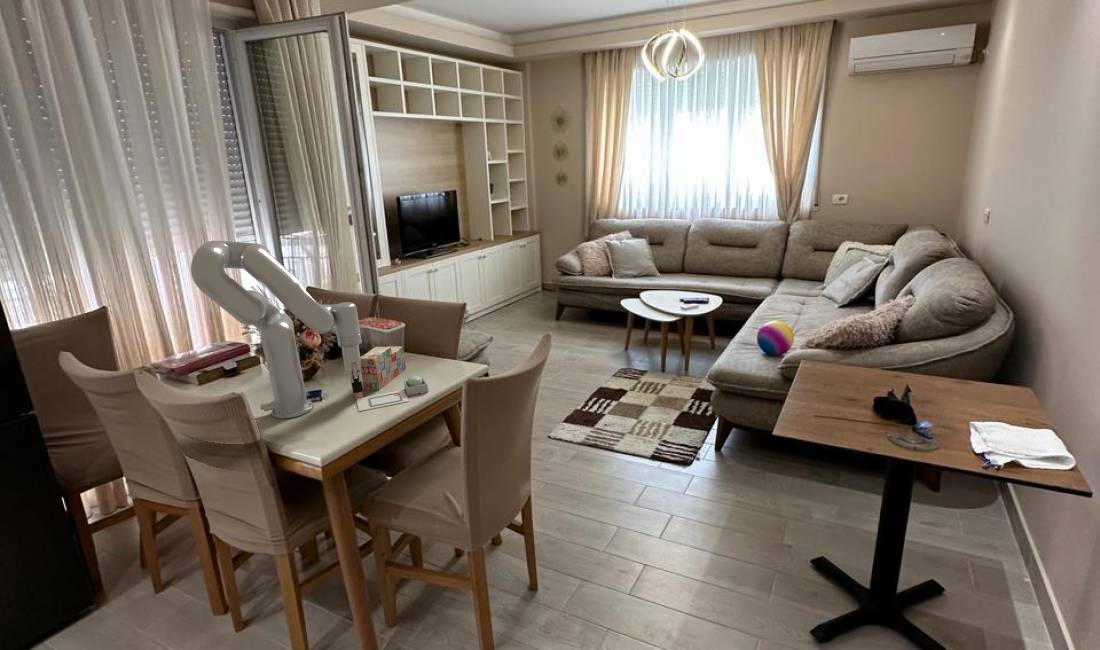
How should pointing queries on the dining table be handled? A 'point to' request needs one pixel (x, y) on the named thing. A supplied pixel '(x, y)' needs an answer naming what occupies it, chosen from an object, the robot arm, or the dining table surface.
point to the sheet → (381, 400)
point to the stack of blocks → (381, 366)
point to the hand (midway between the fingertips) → (357, 390)
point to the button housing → (416, 388)
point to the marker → (357, 395)
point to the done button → (415, 381)
